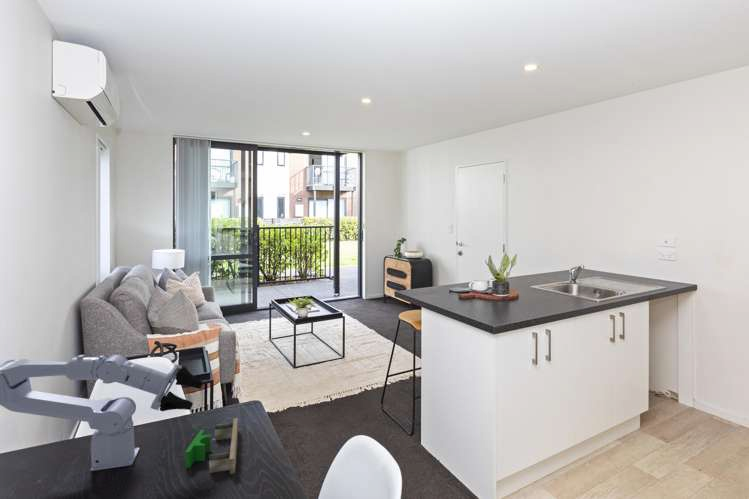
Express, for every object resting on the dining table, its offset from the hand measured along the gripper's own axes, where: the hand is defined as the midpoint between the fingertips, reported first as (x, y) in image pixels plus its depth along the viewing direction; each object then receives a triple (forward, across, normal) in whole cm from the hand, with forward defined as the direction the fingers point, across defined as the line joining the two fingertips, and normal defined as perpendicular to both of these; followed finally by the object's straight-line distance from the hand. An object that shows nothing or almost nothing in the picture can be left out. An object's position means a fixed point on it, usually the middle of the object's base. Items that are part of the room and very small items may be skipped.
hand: (197, 395), depth 113 cm
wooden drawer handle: (+13, -6, +10) cm, 18 cm away
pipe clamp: (+8, -8, +13) cm, 17 cm away
